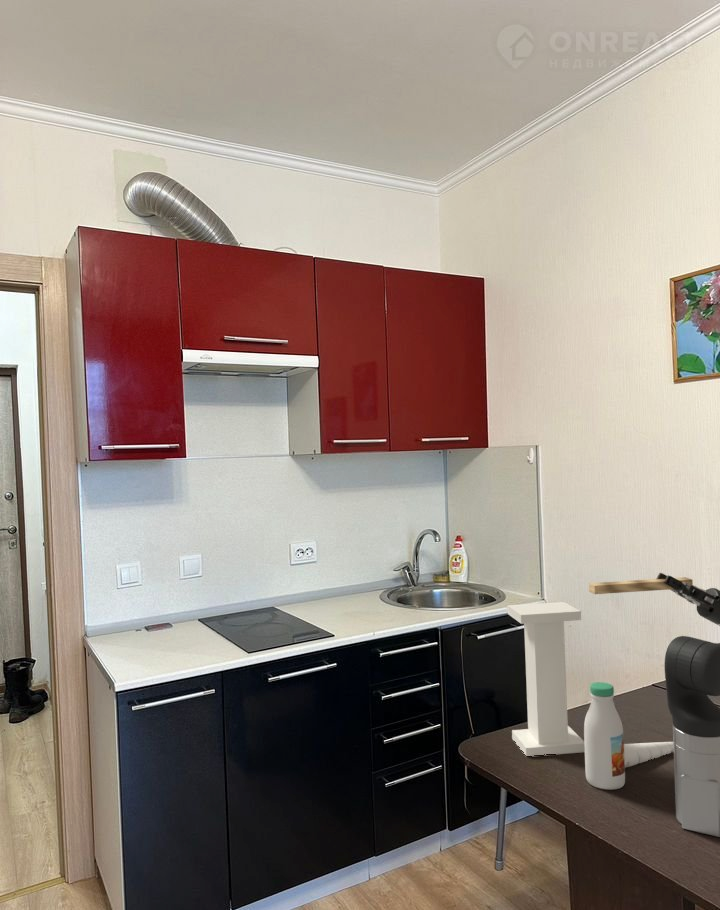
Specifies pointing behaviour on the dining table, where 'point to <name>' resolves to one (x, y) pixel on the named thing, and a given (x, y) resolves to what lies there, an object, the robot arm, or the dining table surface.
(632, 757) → the unicorn horn
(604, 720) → the milk bottle
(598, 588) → the slat
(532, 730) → the stand
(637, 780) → the dining table surface
